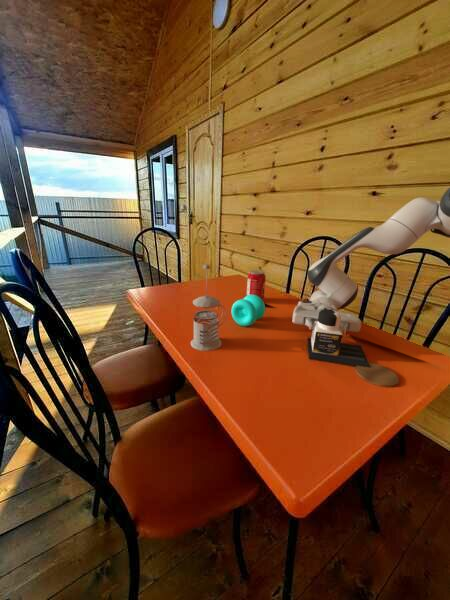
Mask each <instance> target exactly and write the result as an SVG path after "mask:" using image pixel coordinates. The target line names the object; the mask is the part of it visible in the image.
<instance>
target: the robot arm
mask: <svg viewBox="0 0 450 600" xmlns="http://www.w3.org/2000/svg"><path fill="white" fill-rule="evenodd" d="M429 231H430V232H432V233H433V234H437V235H441V236H442V237H445V238H447V239H448V238H449V239H450V187H449V188H447V189H446V190H445V192H444V193H443V194H442V196H441V198H440V200H439V201H438V200H437V201H436V200H433V199H431V198H428V197H424V196H423V197H421V196H420V197H416V198H413V199H412V200H410V201H409V202H408V203H406V204H404V205H403V206H402V207H400V208H399V209H398V210H397V211H396V212H395V213H393V214H392V215H391V216H390V217H388V218H387V220H386V221H384V222H383V223H382V224H380V225H377V226H374V227H372V226H368V227H366V228H363V229H362V230H361V229H360V231H358V232H357V233H355V234H353V236H351V237H350V238H348V239H346V240H345V241H344V242H343V243H341V244H340V245H339V246H337V247H336V248H334V249H333V250H331V252H329V253H327V254H325V256H323V257H322V258H320V259H318V260H316V261H315V262H314V263H313V264H311V265H310V267H309V268H308V270H307V278H308V282H310V283H311V284H312V285H313V286H315V287H316V288H318V290H315V291H313V292H312V294H311V295H310V297H309V300H299V301H298V303H297V305H295V307H294V309H293V312H292V320H291V322H292V323H293V324H294V325H300V326H301V325H302V326H306V327H307V328H308V329H309V330H312V331H313V330H314V329H315V323H314V321H318V316H319V312H320V311H321V310H324V309H330V310H335V311H337V312H339V313H340V314H341V321H340V326H339V327H340V329H341V332H342V334H343V335H346V334H347V333H346V332H351V333H359V332H360V331H361V327H362V320H361V319H360V318H359V317H358V316H357V315H356V314H354V313H351V312H344V311H340V310H343V309H345V308H346V307H348V306H350V305H351V304H352V303H353V302H354V301H355V300H356V298H357V296H358V292H359V284H358V283H357V282H356V281H354V279H353V278H351V277H350V276H349V275H347V274H346V272H345V271H343V270H342V269H340V267H338V265H337V264H338V263H339V262H340V261H342V260H343V259H345V258H346V257H348V256H349V255H350V254H352V253H353V252H354V251H356V250H357V249H361V248H364V249H365V248H366V249H369V250H371V251H375V252H377V253H380V254H385V255H399V254H401V253H403V252H405V251H406V250H408V249H409V248H410V247H412V246H413V245H414V244H415V243H416V242H417V241H418V240H420V238H421V237H423V235H425V234H426V233H427V232H429Z"/></svg>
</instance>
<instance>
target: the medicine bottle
mask: <svg viewBox="0 0 450 600" xmlns="http://www.w3.org/2000/svg"><path fill="white" fill-rule="evenodd" d="M337 311H338V310H337ZM337 311H335V310H330V309H324V310H321V311H320V312H319V316H318V321H314V323H315V329H314V330H312V332H311V344H312V351H313V352H316V353H322V354H329V355H336V356H338V354H339V349H340V344H341V343H342V339H343V335H344V334H342V332H341V329H340V327H339V326H340V321H341V314H340V313H339V312H340V311H338V312H337Z"/></svg>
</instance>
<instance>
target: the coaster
mask: <svg viewBox="0 0 450 600" xmlns="http://www.w3.org/2000/svg"><path fill="white" fill-rule="evenodd" d="M369 364H370V366H371V367H370V368H369V367H363V366H356V367H354V371H355V373H356V374H357V375H358V376H359V377H360V378H361V379H362V380H364V381H365V382H367V383H370V384H372V385H374V386H378V387H383V388H393V387H396V386H398V385H399V383H400V378H399V376H398V374H397V373H395V372H394V371H393V370H391V369H390V368H388V367H386V366H383V365H381V364H378V363H374V362H369Z"/></svg>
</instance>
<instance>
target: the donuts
mask: <svg viewBox="0 0 450 600" xmlns="http://www.w3.org/2000/svg"><path fill="white" fill-rule="evenodd" d="M230 311H231V312H230V313H231V316H232V319H233V320H234V322H235V323H236V324H238V325H239V326H242V327H250V326H252V325H253V324H254V323H255V322H256V321H257V320H261V319H262V318H263V316H264V315H265V313H266V305H265V302H263V300H262V299H261V298H260V297H258V296H256V295H248V296H246V295H245V297H243V298H241V299H237V300H236V301H234V303H233V304H232V305H231V310H230Z"/></svg>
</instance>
